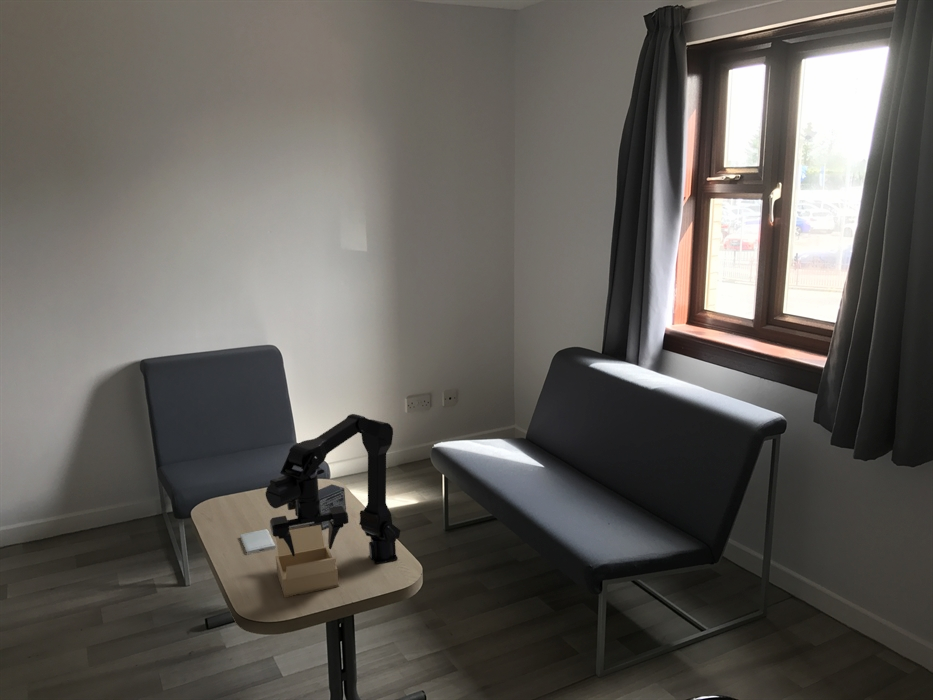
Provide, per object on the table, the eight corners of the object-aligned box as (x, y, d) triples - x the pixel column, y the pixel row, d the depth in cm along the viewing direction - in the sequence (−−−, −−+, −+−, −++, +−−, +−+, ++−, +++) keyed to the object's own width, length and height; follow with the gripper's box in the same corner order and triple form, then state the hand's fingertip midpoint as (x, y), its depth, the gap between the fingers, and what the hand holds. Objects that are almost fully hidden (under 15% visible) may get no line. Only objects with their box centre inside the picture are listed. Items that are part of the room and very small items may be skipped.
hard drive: (240, 534, 234) (246, 551, 223) (267, 528, 237) (275, 544, 226) (240, 539, 234) (247, 556, 223) (268, 533, 238) (276, 550, 227)
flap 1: (324, 546, 215) (324, 547, 216) (320, 524, 218) (320, 525, 218) (278, 555, 211) (278, 555, 211) (275, 532, 213) (275, 533, 214)
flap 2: (285, 578, 198) (286, 580, 198) (286, 566, 194) (286, 568, 194) (334, 569, 202) (334, 570, 202) (335, 557, 198) (336, 558, 198)
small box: (334, 514, 249) (331, 483, 247) (347, 519, 245) (345, 487, 243) (308, 525, 241) (305, 493, 239) (321, 531, 237) (319, 498, 235)
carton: (328, 563, 217) (327, 546, 216) (338, 586, 204) (337, 568, 203) (277, 573, 212) (275, 556, 211) (284, 597, 199) (282, 579, 198)
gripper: (337, 477, 205) (341, 532, 208) (264, 489, 198) (270, 545, 202) (346, 492, 195) (350, 550, 198) (270, 505, 188) (275, 564, 192)
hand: (311, 552), depth 198 cm, fingers open, 9 cm apart
